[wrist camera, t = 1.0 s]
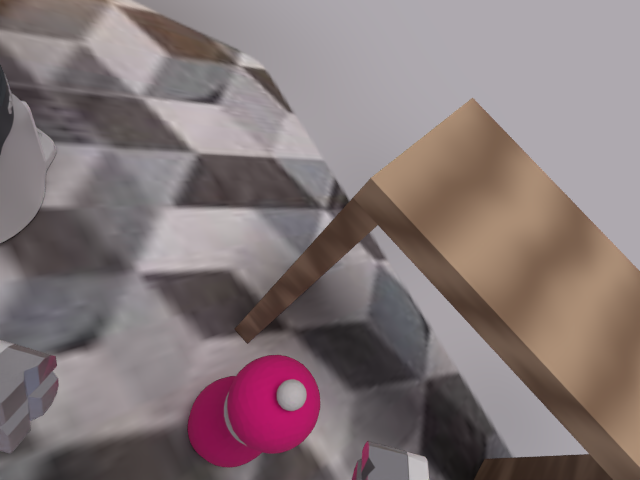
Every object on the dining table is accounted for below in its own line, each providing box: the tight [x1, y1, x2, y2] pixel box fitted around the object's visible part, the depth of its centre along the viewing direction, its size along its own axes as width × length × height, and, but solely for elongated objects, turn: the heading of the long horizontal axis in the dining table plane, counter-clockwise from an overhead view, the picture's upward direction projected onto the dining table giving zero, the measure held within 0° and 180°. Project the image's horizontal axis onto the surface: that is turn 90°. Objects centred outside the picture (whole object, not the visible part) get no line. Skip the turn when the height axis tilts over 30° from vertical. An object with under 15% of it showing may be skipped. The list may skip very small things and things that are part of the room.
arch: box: [235, 98, 640, 480], centre depth 37 cm, size 32×12×29 cm, turn 47°
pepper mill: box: [188, 355, 320, 467], centre depth 34 cm, size 7×7×20 cm
